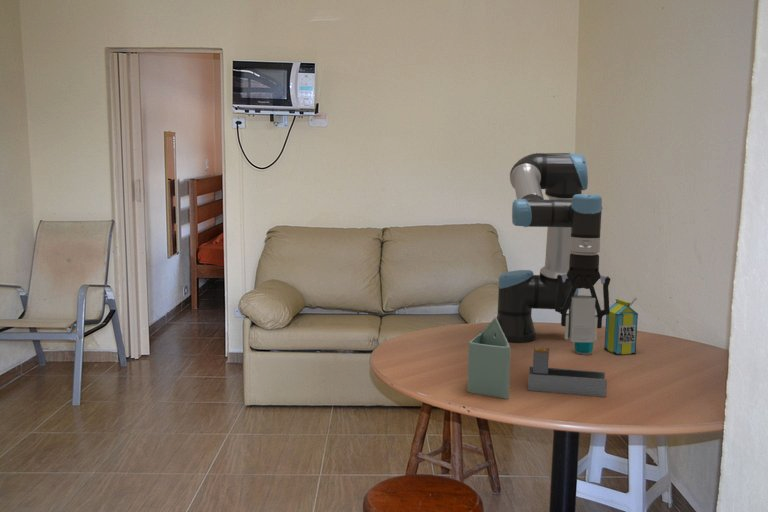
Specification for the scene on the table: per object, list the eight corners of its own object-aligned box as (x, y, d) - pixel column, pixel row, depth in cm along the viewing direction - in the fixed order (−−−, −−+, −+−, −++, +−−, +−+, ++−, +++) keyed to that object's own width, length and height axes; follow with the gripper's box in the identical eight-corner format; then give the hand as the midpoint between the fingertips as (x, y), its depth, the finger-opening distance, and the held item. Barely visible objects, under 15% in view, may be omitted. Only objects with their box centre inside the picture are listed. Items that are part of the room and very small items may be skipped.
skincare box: (589, 339, 193) (592, 295, 191) (593, 343, 188) (596, 298, 187) (566, 338, 193) (569, 294, 191) (570, 342, 188) (573, 297, 187)
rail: (529, 382, 199) (530, 344, 198) (603, 388, 194) (606, 349, 193) (528, 390, 192) (529, 351, 190) (605, 396, 187) (608, 357, 186)
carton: (638, 354, 230) (641, 298, 227) (616, 355, 228) (619, 299, 226) (625, 348, 237) (628, 294, 235) (604, 349, 235) (607, 295, 233)
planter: (454, 383, 197) (456, 313, 195) (480, 380, 200) (482, 311, 198) (481, 402, 182) (484, 326, 180) (509, 398, 185) (512, 324, 182)
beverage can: (585, 350, 234) (588, 305, 232) (596, 354, 229) (598, 308, 227) (570, 351, 232) (572, 306, 230) (580, 356, 227) (583, 309, 225)
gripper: (546, 253, 186) (542, 339, 189) (625, 256, 182) (620, 345, 184) (546, 250, 193) (543, 333, 196) (622, 253, 189) (617, 338, 192)
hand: (580, 339), depth 190 cm, fingers closed on skincare box, 7 cm apart
